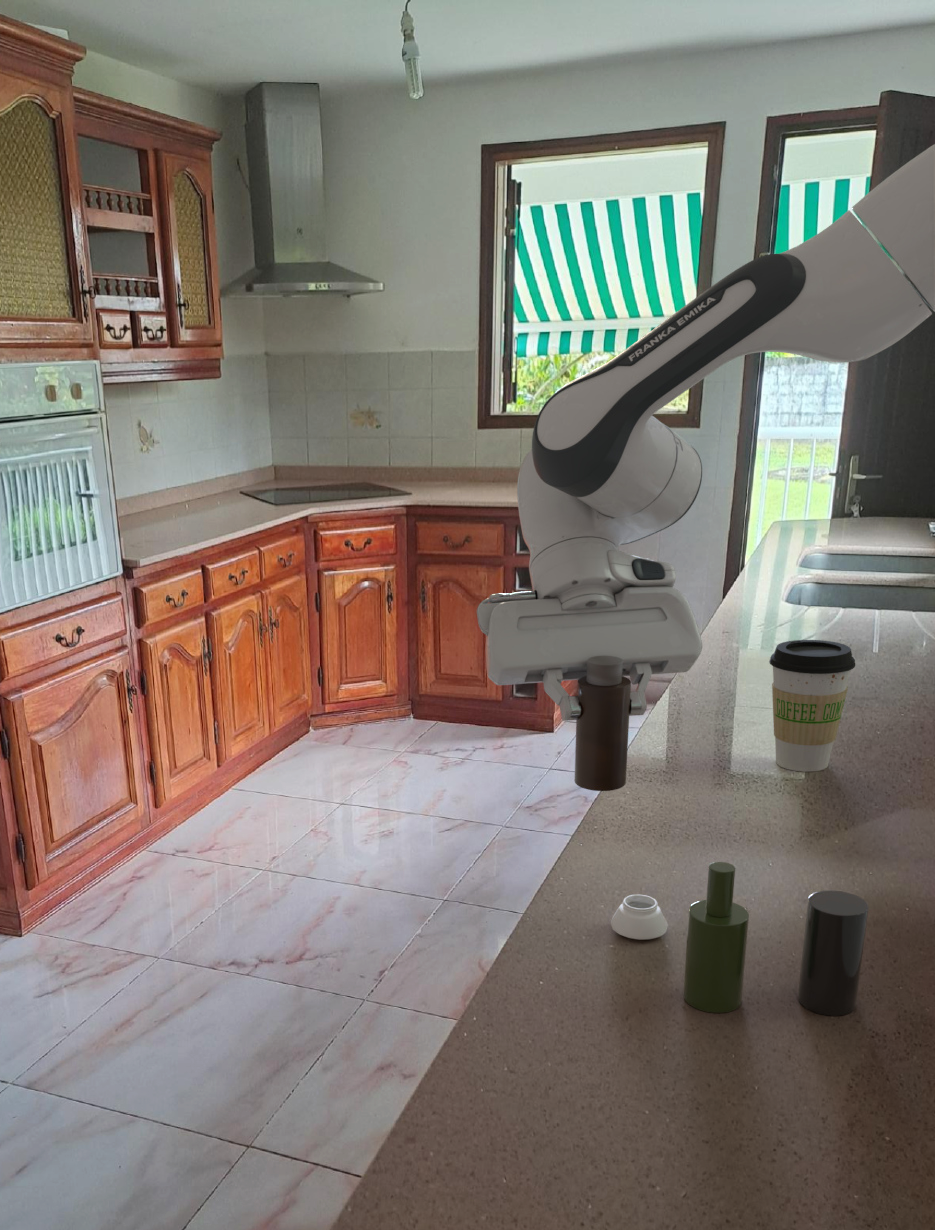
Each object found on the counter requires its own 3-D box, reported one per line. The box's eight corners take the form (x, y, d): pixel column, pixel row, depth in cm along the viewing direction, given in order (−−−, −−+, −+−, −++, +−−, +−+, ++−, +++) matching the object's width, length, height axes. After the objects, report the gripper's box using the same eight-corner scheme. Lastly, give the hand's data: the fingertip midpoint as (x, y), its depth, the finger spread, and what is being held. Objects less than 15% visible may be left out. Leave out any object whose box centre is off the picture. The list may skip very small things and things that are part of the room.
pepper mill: (617, 770, 109) (622, 651, 105) (632, 789, 105) (639, 665, 100) (568, 774, 109) (572, 655, 104) (582, 793, 105) (586, 669, 100)
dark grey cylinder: (847, 987, 93) (859, 890, 90) (862, 1016, 89) (875, 916, 86) (792, 986, 94) (802, 889, 91) (804, 1015, 90) (815, 915, 86)
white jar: (661, 946, 101) (670, 922, 105) (663, 917, 100) (672, 894, 104) (606, 938, 103) (617, 914, 107) (607, 909, 102) (618, 886, 106)
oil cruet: (735, 984, 95) (746, 855, 90) (746, 1014, 90) (758, 879, 86) (679, 982, 95) (687, 854, 91) (687, 1012, 91) (696, 879, 87)
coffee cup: (790, 780, 137) (802, 661, 131) (745, 756, 146) (754, 643, 140) (861, 770, 139) (875, 652, 133) (812, 746, 148) (823, 635, 142)
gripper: (478, 577, 106) (499, 707, 100) (690, 563, 107) (722, 691, 101) (469, 613, 111) (489, 738, 106) (670, 599, 113) (700, 722, 107)
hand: (605, 715), depth 104 cm, fingers closed on pepper mill, 5 cm apart
